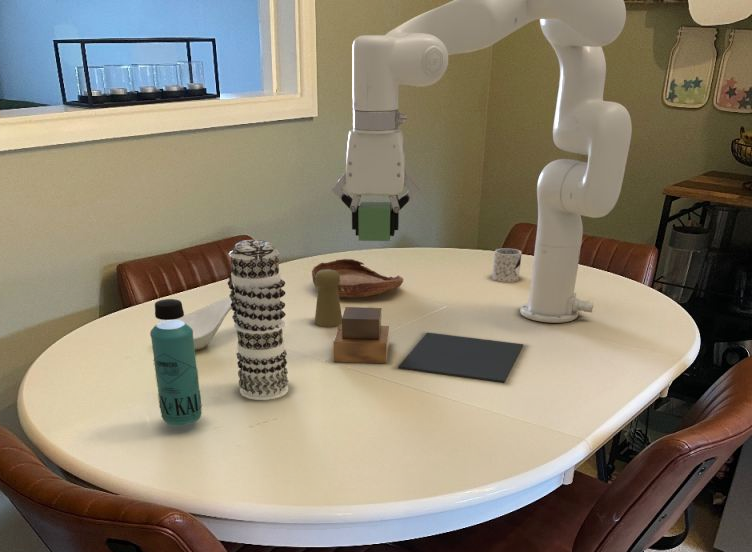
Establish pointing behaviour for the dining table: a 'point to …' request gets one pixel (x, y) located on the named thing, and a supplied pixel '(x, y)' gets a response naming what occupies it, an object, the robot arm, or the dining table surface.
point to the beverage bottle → (175, 365)
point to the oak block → (361, 348)
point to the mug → (506, 265)
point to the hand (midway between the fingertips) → (375, 233)
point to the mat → (463, 357)
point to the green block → (374, 221)
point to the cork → (328, 299)
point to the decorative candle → (258, 319)
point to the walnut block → (361, 323)
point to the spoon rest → (207, 321)
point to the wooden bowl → (357, 278)
